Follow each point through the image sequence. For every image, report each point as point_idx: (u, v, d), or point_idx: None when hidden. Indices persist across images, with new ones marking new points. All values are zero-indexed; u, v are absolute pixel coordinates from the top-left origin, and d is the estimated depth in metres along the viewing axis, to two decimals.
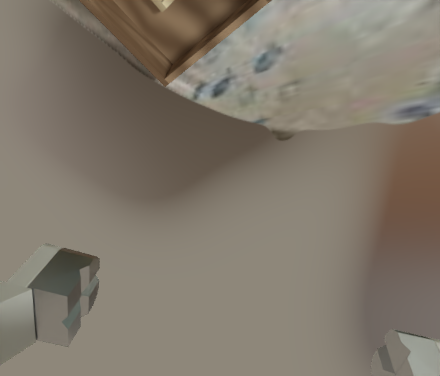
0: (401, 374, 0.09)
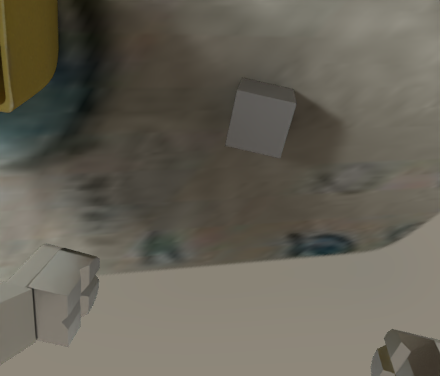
0: (401, 374, 0.09)
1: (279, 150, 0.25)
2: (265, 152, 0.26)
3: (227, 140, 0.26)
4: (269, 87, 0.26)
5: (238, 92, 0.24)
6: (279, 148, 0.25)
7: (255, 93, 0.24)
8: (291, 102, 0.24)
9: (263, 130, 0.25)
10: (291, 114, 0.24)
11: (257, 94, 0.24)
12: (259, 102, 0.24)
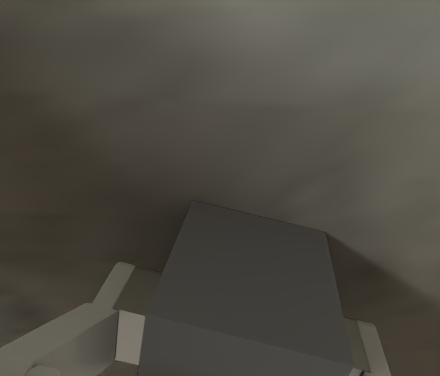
0: None
1: None
2: None
3: None
4: (261, 245, 0.09)
5: (151, 320, 0.07)
6: None
7: (210, 320, 0.07)
8: (335, 358, 0.07)
9: None
10: None
11: (218, 323, 0.07)
12: (223, 351, 0.07)
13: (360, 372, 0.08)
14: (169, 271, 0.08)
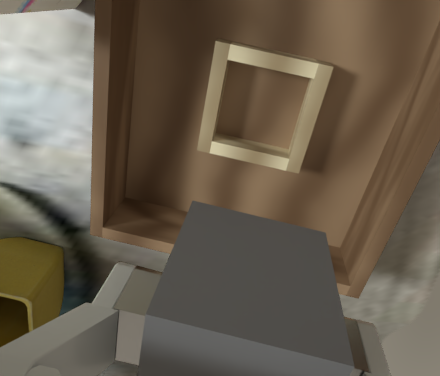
0: None
1: None
2: None
3: None
4: (261, 245, 0.09)
5: (151, 320, 0.07)
6: None
7: (211, 321, 0.07)
8: (335, 359, 0.07)
9: None
10: None
11: (218, 324, 0.07)
12: (223, 352, 0.07)
13: (360, 372, 0.08)
14: (169, 271, 0.08)
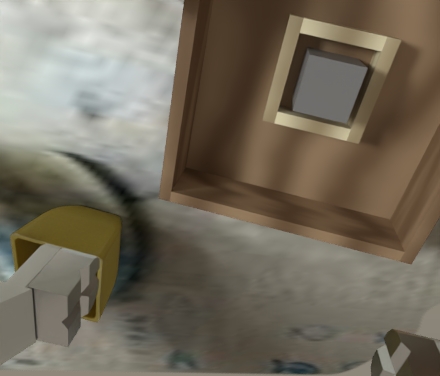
0: (401, 374, 0.09)
1: (346, 115, 0.26)
2: (332, 117, 0.26)
3: (295, 105, 0.26)
4: (335, 55, 0.27)
5: (310, 57, 0.25)
6: (346, 113, 0.26)
7: (327, 58, 0.25)
8: (362, 67, 0.25)
9: (332, 95, 0.26)
10: (361, 79, 0.25)
11: (329, 58, 0.25)
12: (330, 67, 0.25)
13: None
14: (310, 52, 0.26)
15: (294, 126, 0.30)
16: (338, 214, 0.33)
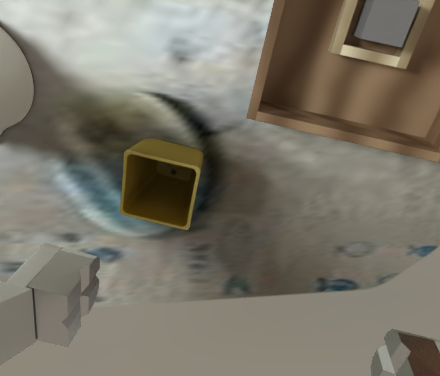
0: (401, 374, 0.09)
1: (401, 40, 0.35)
2: (390, 42, 0.35)
3: (363, 34, 0.35)
4: None
5: None
6: (402, 39, 0.34)
7: None
8: (416, 1, 0.33)
9: (391, 24, 0.34)
10: (415, 10, 0.33)
11: None
12: (392, 2, 0.33)
13: None
14: None
15: (355, 56, 0.38)
16: (385, 132, 0.41)
